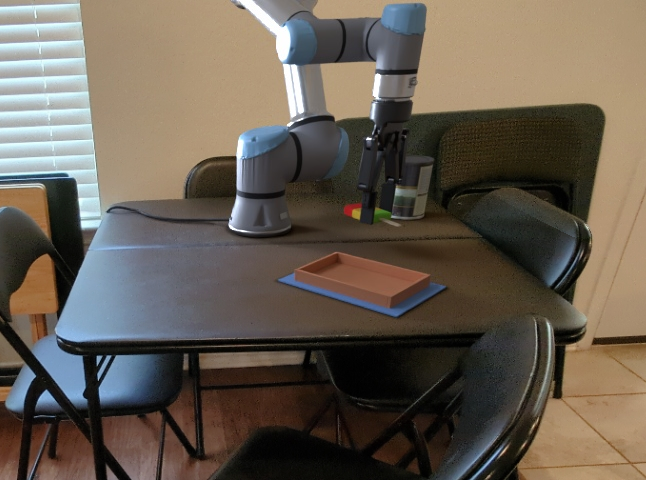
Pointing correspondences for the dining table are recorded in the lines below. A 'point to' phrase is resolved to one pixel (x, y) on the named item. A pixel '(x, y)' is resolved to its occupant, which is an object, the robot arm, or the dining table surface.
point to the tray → (363, 279)
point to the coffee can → (413, 188)
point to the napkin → (393, 311)
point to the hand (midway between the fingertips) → (375, 219)
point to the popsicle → (379, 214)
